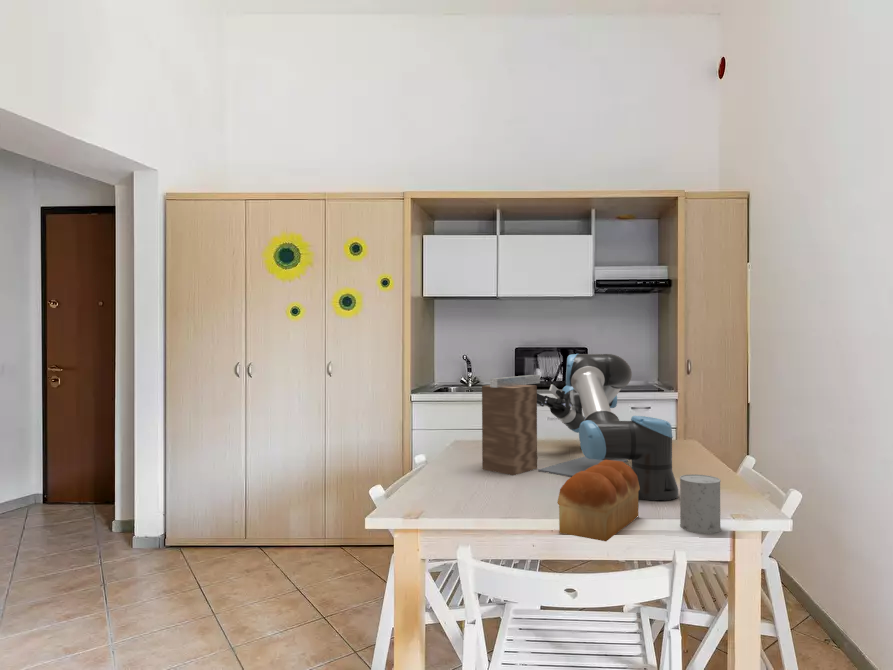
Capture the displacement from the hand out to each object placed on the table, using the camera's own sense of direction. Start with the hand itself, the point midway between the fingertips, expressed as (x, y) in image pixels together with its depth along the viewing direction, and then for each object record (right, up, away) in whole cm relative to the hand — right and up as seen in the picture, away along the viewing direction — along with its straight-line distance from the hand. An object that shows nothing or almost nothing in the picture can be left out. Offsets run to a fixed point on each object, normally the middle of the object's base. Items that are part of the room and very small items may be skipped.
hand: (535, 386), depth 241 cm
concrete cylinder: (+30, -29, -82) cm, 92 cm away
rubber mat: (+17, -29, -9) cm, 34 cm away
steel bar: (-9, +1, -10) cm, 13 cm away
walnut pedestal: (-11, -29, -13) cm, 33 cm away
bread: (+5, -29, -79) cm, 84 cm away
